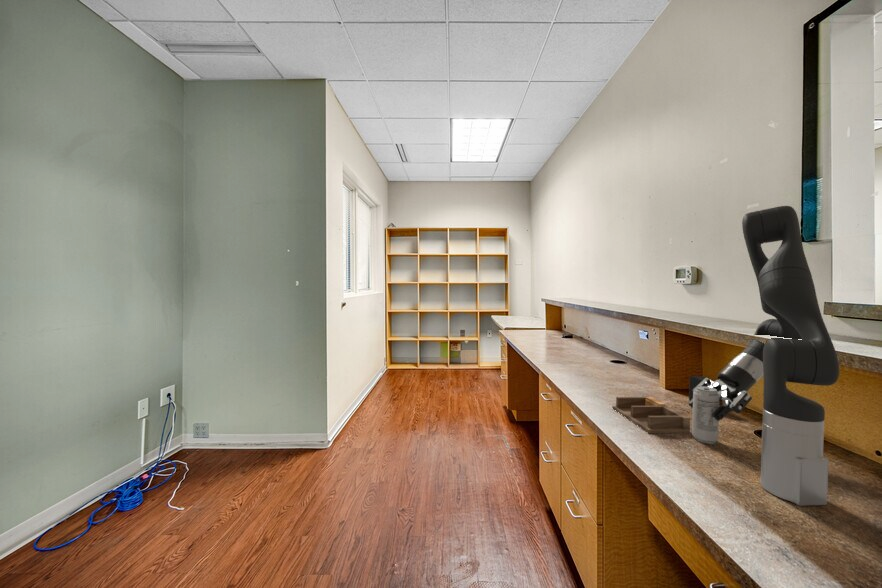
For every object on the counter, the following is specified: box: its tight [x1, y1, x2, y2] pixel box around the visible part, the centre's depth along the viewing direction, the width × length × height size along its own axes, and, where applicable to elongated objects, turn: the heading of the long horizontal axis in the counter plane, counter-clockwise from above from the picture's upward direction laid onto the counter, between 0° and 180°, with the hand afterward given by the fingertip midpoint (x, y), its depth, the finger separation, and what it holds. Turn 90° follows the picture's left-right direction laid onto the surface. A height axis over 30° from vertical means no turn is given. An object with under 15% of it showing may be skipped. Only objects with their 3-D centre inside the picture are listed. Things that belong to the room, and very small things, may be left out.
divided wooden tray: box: [611, 395, 691, 434], centre depth 114 cm, size 20×13×5 cm, turn 3°
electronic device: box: [688, 375, 715, 402], centre depth 128 cm, size 4×10×10 cm, turn 174°
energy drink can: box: [691, 386, 721, 445], centre depth 100 cm, size 6×6×15 cm
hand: (702, 412), depth 99 cm, fingers open, 8 cm apart
